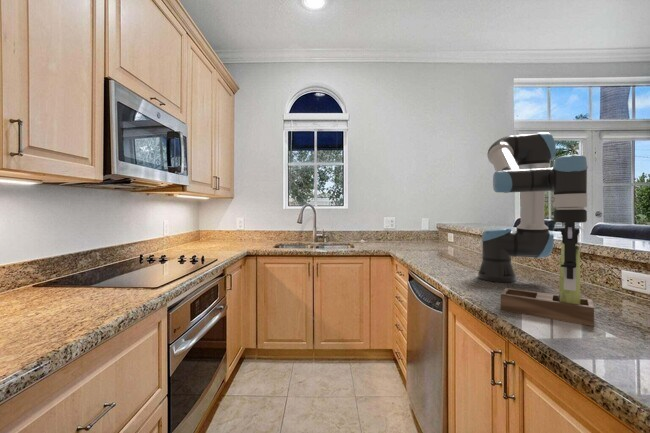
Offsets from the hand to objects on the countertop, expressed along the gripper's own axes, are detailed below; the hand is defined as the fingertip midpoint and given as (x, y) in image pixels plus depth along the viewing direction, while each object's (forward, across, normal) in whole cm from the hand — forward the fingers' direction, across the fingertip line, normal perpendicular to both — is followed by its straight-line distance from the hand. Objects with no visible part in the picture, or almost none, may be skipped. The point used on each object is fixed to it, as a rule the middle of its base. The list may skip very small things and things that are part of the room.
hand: (569, 287), depth 87 cm
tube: (+7, 0, 0) cm, 7 cm away
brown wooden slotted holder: (+9, 0, -6) cm, 11 cm away
